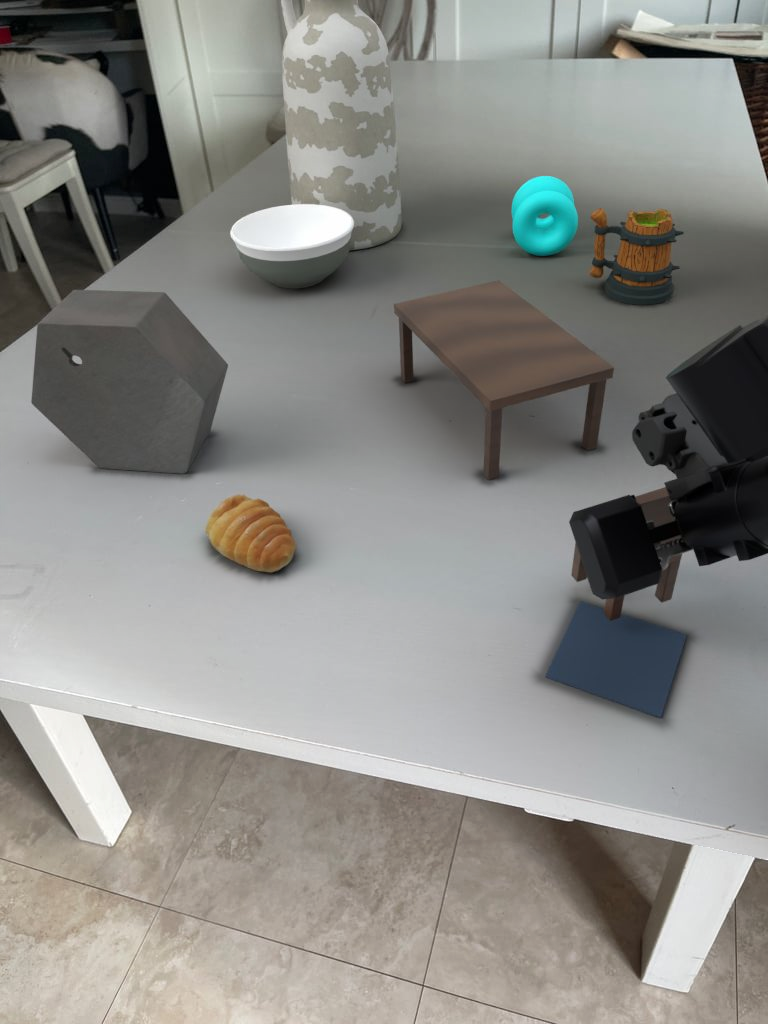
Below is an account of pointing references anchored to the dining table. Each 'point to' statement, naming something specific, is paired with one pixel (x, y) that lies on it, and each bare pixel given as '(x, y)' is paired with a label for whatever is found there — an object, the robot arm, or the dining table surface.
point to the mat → (618, 659)
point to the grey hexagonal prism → (127, 379)
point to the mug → (637, 257)
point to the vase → (341, 117)
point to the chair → (660, 514)
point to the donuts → (548, 231)
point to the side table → (502, 354)
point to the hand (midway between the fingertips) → (640, 532)
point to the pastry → (251, 534)
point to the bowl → (294, 243)
